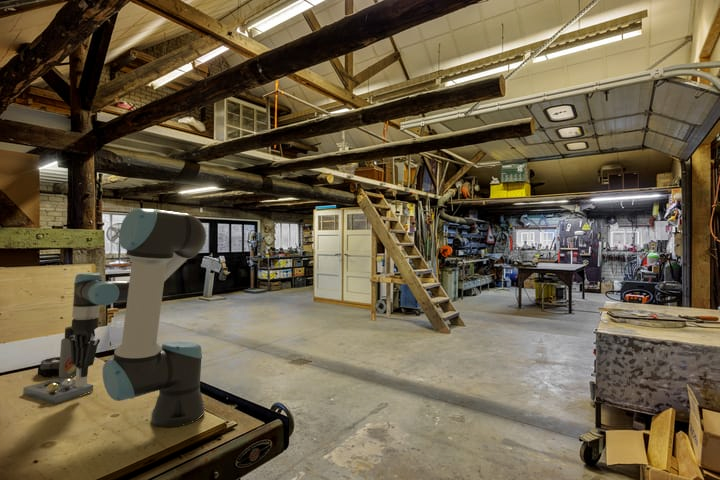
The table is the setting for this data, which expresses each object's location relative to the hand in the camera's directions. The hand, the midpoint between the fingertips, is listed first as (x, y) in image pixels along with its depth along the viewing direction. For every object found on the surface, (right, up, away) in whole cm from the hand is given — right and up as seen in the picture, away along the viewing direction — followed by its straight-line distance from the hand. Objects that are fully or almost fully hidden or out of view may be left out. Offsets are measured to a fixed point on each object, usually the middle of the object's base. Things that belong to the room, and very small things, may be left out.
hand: (80, 385), depth 124 cm
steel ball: (-7, 0, +3) cm, 7 cm away
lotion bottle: (-22, -5, +21) cm, 31 cm away
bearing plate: (-11, -4, +4) cm, 13 cm away
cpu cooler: (-29, -5, +24) cm, 38 cm away
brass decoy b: (-8, 0, -2) cm, 9 cm away
